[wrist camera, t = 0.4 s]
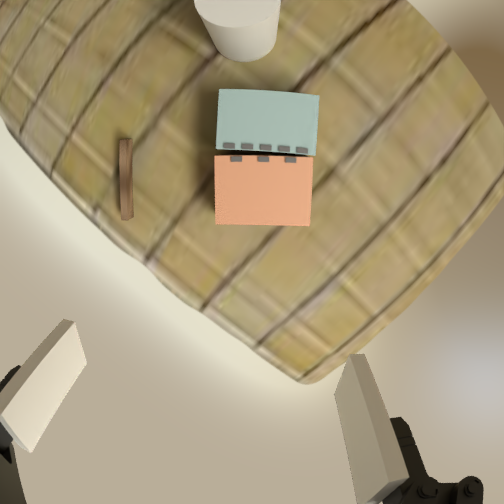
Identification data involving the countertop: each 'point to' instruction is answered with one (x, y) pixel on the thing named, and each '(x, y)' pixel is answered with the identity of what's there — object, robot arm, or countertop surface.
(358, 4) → the countertop surface
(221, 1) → the cup
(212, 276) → the countertop surface
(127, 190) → the rail
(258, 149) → the pale teal block
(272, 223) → the stub
